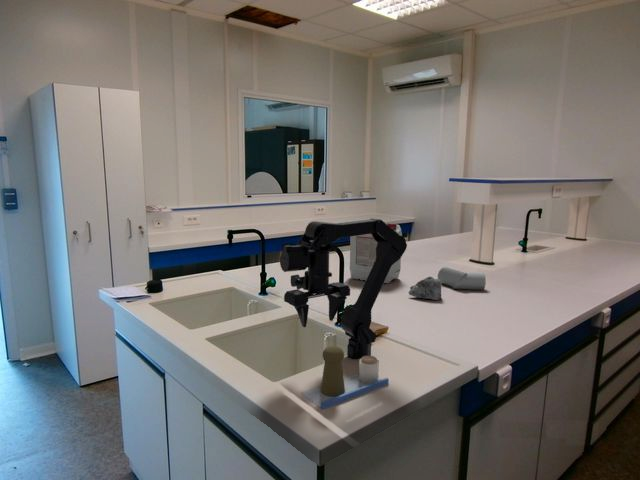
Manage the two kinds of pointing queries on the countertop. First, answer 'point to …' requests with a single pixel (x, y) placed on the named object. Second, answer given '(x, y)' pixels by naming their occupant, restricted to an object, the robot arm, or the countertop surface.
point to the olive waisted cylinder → (333, 372)
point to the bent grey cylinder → (462, 279)
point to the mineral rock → (427, 289)
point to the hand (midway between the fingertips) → (317, 323)
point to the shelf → (351, 390)
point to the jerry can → (369, 256)
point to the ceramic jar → (368, 369)
